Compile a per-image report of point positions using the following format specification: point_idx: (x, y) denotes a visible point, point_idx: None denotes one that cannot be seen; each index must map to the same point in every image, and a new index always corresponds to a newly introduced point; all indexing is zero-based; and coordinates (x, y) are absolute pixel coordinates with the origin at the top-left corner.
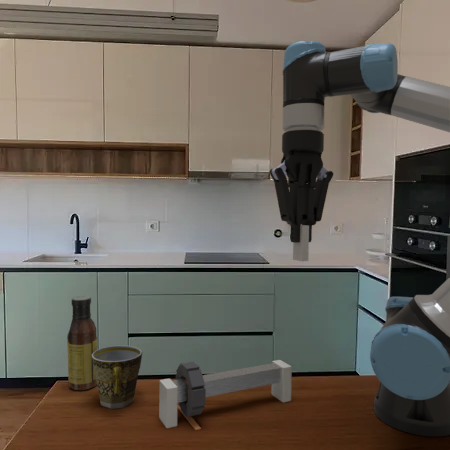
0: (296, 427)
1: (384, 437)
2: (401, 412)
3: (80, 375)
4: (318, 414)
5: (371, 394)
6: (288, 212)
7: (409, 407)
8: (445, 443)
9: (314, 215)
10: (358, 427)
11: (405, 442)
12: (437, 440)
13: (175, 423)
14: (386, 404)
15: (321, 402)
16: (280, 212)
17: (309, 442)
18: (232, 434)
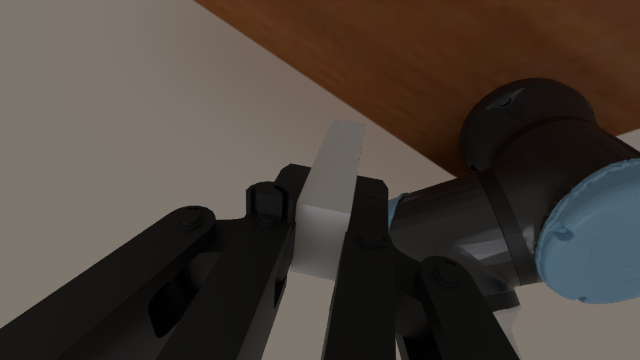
0: (358, 58)
1: (429, 139)
2: (467, 152)
3: None
4: (415, 48)
5: (561, 46)
6: (156, 310)
7: (472, 164)
8: None
9: (409, 332)
10: (426, 106)
11: (437, 157)
12: None
13: None
14: (474, 130)
15: (457, 17)
16: (131, 246)
17: (345, 95)
18: (273, 22)
